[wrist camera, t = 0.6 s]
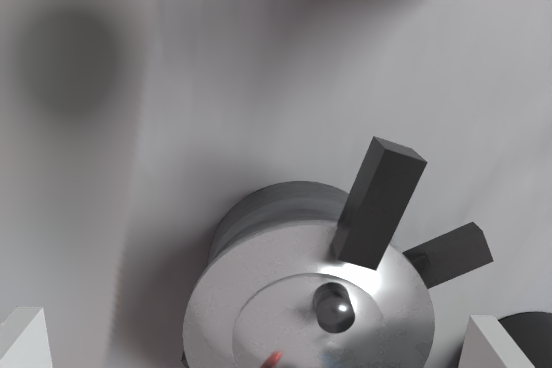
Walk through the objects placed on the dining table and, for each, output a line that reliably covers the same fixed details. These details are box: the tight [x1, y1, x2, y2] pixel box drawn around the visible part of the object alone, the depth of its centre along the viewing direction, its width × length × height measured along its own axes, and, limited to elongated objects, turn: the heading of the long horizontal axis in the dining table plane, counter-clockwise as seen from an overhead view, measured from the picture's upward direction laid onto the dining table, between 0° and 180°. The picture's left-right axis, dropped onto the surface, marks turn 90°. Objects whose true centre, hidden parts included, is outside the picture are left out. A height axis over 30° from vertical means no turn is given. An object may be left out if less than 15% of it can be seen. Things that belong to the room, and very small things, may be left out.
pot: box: [181, 181, 493, 368], centre depth 40 cm, size 26×19×10 cm
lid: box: [183, 136, 435, 368], centre depth 33 cm, size 28×20×4 cm
